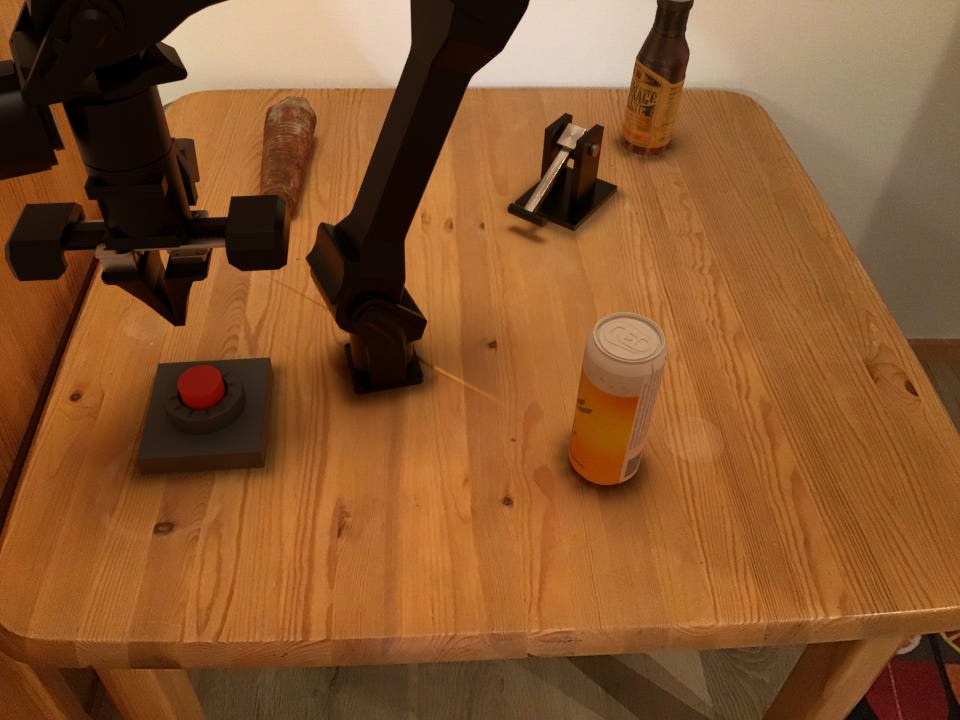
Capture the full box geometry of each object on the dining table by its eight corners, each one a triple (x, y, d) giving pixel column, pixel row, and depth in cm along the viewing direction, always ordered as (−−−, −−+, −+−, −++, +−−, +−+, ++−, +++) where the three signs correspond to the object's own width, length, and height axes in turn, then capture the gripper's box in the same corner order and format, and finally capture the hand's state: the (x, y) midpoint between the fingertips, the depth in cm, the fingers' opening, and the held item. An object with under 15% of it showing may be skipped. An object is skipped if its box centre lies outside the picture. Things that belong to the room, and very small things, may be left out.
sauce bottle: (610, 139, 110) (634, -17, 96) (651, 129, 112) (680, -25, 98) (637, 165, 106) (666, 6, 92) (679, 154, 108) (714, -3, 93)
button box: (264, 467, 72) (257, 437, 69) (143, 475, 71) (130, 445, 68) (273, 373, 79) (267, 343, 76) (164, 379, 78) (153, 349, 76)
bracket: (573, 235, 95) (583, 159, 88) (514, 209, 98) (519, 134, 91) (616, 194, 101) (628, 120, 94) (559, 171, 104) (567, 98, 97)
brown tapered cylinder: (320, 134, 109) (315, 94, 105) (301, 223, 96) (295, 181, 92) (270, 133, 109) (263, 93, 105) (245, 223, 95) (236, 181, 91)
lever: (543, 232, 93) (539, 221, 90) (509, 217, 94) (504, 206, 92) (598, 144, 95) (595, 132, 92) (563, 131, 96) (560, 119, 94)
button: (222, 408, 71) (218, 394, 70) (178, 411, 71) (174, 397, 70) (227, 377, 74) (223, 363, 73) (185, 380, 74) (180, 365, 72)
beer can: (593, 423, 76) (616, 297, 65) (651, 458, 73) (686, 333, 63) (553, 464, 73) (571, 339, 62) (613, 502, 70) (642, 378, 59)
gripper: (279, 84, 62) (305, 253, 73) (12, 91, 60) (81, 263, 71) (268, 169, 54) (299, 343, 65) (-38, 179, 52) (47, 356, 64)
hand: (181, 322), depth 67 cm, fingers closed
